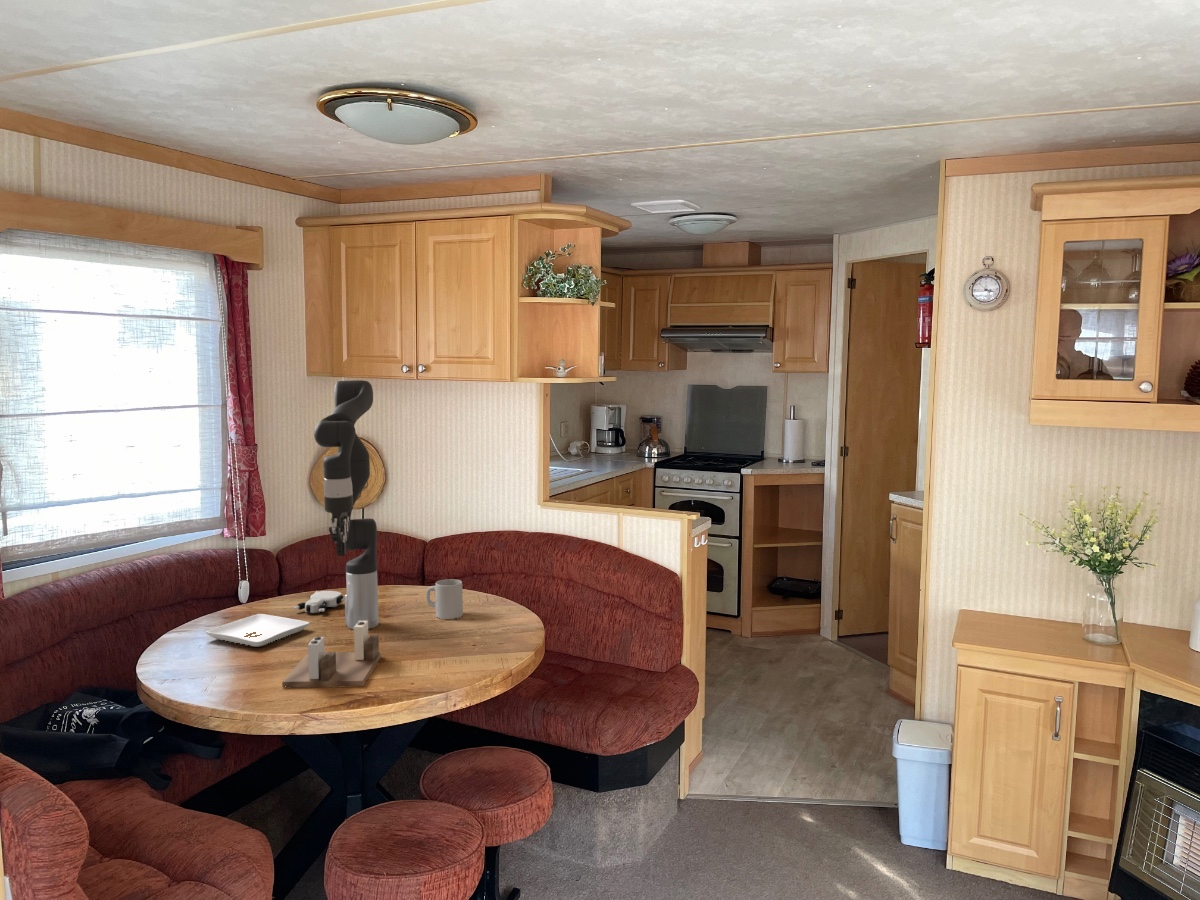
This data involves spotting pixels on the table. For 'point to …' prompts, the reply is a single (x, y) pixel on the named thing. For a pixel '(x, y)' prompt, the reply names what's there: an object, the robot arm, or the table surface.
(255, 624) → the salad plate
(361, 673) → the brown piece
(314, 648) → the tile two
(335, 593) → the robot toy
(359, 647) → the tile one
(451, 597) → the mug
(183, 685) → the table surface
